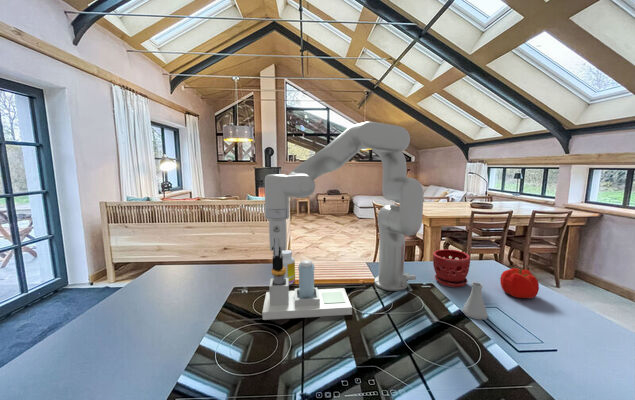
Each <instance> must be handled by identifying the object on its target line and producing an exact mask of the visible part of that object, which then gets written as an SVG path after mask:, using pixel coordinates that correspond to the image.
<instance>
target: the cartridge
mask: <svg viewBox="0 0 635 400" xmlns="http://www.w3.org/2000/svg"><path fill="white" fill-rule="evenodd" d="M298 288H299V299H306V298H314V288H315V263H313V261H312V260H310V259H304V260H301V261H300V262H299V264H298Z"/></svg>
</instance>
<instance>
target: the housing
mask: <svg viewBox="0 0 635 400" xmlns="http://www.w3.org/2000/svg"><path fill="white" fill-rule="evenodd" d="M268 287H269V291H266V293H265V298H264V302H263V307H262V314H261V315H262V320H264V321H267V320H268V321H269V320H270V321H271V320H284V319H285V320H286V319H299V318H300V319H301V318H317V317H334V316H335V317H336V316H349V315H350V316H351V315H353V306H352V304H351V302H350V300H349V299H350V298H349V297H348V294H347V292H346V289H345V288H344V287H343V288H341V287H340V288H337V287H336V288H321V289H320V288H319V289H318V287H314V298H306V299H299V287H298V288H294V290H290V285H289V278H285V285H274V278H270V281H269V286H268Z"/></svg>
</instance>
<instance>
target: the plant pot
mask: <svg viewBox="0 0 635 400" xmlns="http://www.w3.org/2000/svg"><path fill="white" fill-rule="evenodd" d="M449 257H451V258H449ZM456 258H458V259H456ZM432 262H433V263H432V265H433V270H434V272H435V275H434V279H435V280H436V282H438V283H439V284H440V285H442V286H446V287H449V288H460V287H464V286H465V285H467V283H468V279H467V276H468V275H469V271H470V263H471V256H470V255H469V253H466V252H464V251H462V250H461V251H460V250H456V249H446V248H445V249H436V250H435V251H433V253H432Z"/></svg>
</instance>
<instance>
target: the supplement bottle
mask: <svg viewBox="0 0 635 400" xmlns="http://www.w3.org/2000/svg"><path fill="white" fill-rule="evenodd" d="M292 255H293V251H292V250H290V249H286V250H285V251H284V250H282V256H283V267H285V268H286V274H285V278H289V286H291V285H293V284H294V283H295V282H294V280H295V281H296V263H295V262H296V261H295V257H293V256H292ZM293 282H294V283H293Z"/></svg>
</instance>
